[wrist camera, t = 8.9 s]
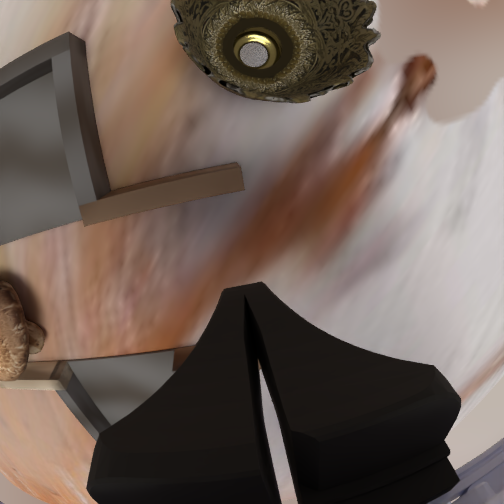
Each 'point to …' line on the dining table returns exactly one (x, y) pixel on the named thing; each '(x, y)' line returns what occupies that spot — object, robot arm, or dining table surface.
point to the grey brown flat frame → (80, 212)
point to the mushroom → (15, 335)
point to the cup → (278, 44)
